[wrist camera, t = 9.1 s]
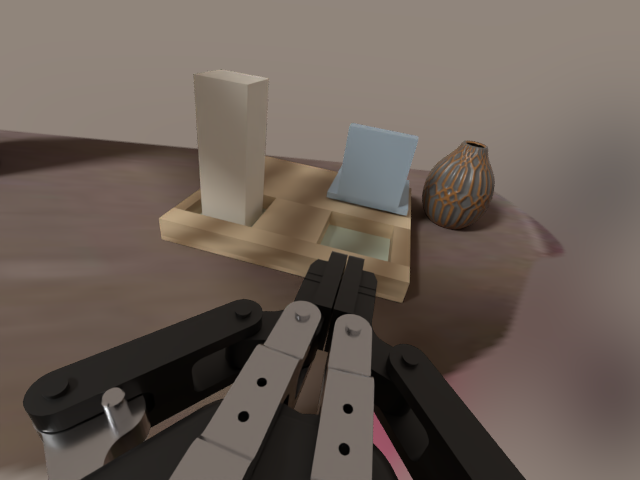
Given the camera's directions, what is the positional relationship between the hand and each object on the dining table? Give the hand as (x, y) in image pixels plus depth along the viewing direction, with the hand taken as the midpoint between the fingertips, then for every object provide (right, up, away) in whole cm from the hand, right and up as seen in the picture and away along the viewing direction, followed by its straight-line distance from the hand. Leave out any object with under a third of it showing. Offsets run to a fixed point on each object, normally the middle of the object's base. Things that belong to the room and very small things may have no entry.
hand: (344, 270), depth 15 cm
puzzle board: (-2, +4, +19) cm, 19 cm away
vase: (+13, +3, +23) cm, 27 cm away
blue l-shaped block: (+4, +7, +21) cm, 23 cm away
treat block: (-9, +3, +16) cm, 19 cm away
